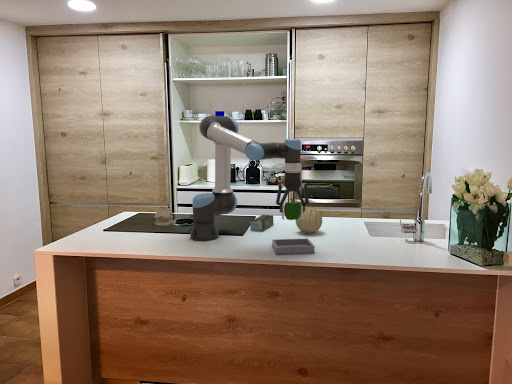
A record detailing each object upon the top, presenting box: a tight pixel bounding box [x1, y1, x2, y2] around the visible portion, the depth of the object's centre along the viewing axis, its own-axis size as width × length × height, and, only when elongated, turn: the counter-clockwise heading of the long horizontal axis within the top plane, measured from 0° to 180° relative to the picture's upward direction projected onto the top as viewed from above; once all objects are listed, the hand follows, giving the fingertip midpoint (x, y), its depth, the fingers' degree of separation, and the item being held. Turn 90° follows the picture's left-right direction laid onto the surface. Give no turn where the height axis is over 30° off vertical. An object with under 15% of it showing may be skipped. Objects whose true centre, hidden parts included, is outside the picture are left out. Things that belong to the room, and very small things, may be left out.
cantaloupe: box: [295, 205, 323, 234], centre depth 229 cm, size 15×15×15 cm
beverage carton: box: [249, 214, 274, 233], centre depth 242 cm, size 8×19×7 cm, turn 158°
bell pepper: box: [283, 197, 302, 221], centre depth 196 cm, size 8×8×10 cm
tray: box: [271, 238, 315, 256], centre depth 198 cm, size 18×14×4 cm
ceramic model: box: [153, 207, 177, 227], centre depth 254 cm, size 14×11×10 cm
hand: (292, 218), depth 197 cm, fingers closed on bell pepper, 8 cm apart
